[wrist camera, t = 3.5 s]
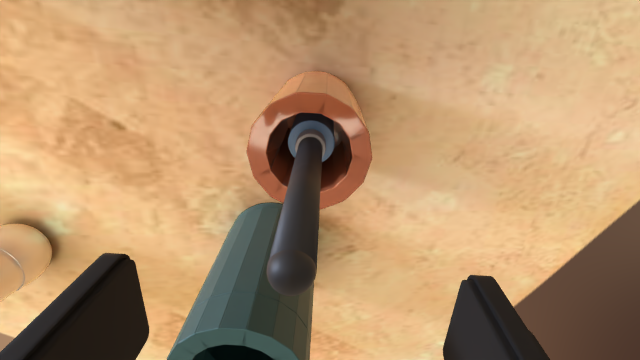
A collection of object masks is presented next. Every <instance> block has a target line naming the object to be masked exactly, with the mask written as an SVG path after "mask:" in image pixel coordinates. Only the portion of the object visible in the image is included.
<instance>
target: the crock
mask: <svg viewBox="0 0 640 360" xmlns="http://www.w3.org/2000/svg"><path fill="white" fill-rule="evenodd" d="M299 113H316V114H322V115H324V116H326V117H328V118H329V119H331V120H333V122H334V141H335V144H334V149H333V152H332V154H331V155H330V157H329V158H328V159H327V160H325V161H324V162H322V170H321V190H320V209H323V208H326V207H329V206H332V205H334V204H337V203H340V202H343V201H344V200H346V199H347V198H348V197H349V196H350V195H351V194H352V193H353V192H354V191H355V190H356V189H357V188H358V187H359V186H360V185H361V184H362V183H363V182H364V179H365V177H366V174H367V171H368V169H369V166H370V163H371V160H372V152H371V144H370V136H369V131H368V129H367V126H366V123H365V121H364V118H363V116H362V113H361V111H360V108H359V106H358V103H357V101H356V98H355V97H354V95H353V94H352V92H351V90H350V89H349V88H348V86H347V85H346V83H345V82H343V81H342V80H340V79H339V78H337V77H336V76H334V75H332V74H329V73H326V72H320V71H310V72H305V73H301V74H299V75H297V76H295V77H293V78H291V79H289V80H288V81H287V82H286V83H285V85H284V86H283V87H282V88H281V90H280V91H279V92H278V93H277V95H276V96H275V97H274V98H273V100H272V101H271V102H270V103H269V104H268V106H267V107H266V108H265V109H264V111H263V112H262V113H261V114H260V116H259V117H258V118H257V119H256V121H255V122H254V123H253V125H252V127H251V132H250V137H249V142H248V147H247V155H248V159H249V162H250V166H251V170H252V173H253V176H254V178H255V179H256V180H257V182H258V183H259V184H260V185H261V186H262V187H263V188H264V190H265V191H266V192H267V193H268V194H269V195H270V196H271V197H272V198H274V199H276V200H278V201H280V202H283V203H284V199H285V195H286V191H287V187H288V184H289V180H290V176H291V172H292V168H293V164H294V161H295V158H294V157H293V155H292V154H291V152H290V150H289V147H288V137H289V134H290V131H291V128H292V126H293V123H294V120H295V118H296V115H297V114H299Z"/></svg>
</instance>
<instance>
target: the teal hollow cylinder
mask: <svg viewBox="0 0 640 360" xmlns="http://www.w3.org/2000/svg"><path fill="white" fill-rule="evenodd" d="M282 207H283V204H279V203H262V204H258V205H255V206H252V207H250V208H248V209H246V210H245V211H244V212H242V213H241V214H240V215H239V216H238V218H237V219H236V220H235V222H234V224H233V226H232V228H231V229H230V231H229V233H228V235H227V237H226V239H225V241H224V243H223V246H222V248H221V250H220V252H219V254H218V256H217V258H216V260H215V262H214V264H213V266H212V268H211V270H210V272H209V274H208V276H207V278H206V280H205V282H204V284H203V286H202V288H201V290H200V292H199V294H198V296H197V298H196V300H195V302H194V305H193V307H192V309H191V311H190V313H189V315H188V317H187V319H186V321H185V323H184V325H183V327H182V329H181V331H180V333H179V335H178V337H177V339H176V341H175V343H174V345H173V347H172V349H171V351H170V353H169V355H168V357H167V360H309V358H310V342H311V325H312V308H313V290H314V282H313V284H312V285H311V287H310V288H309V289H308V290H307V291H305V292H304V293H302V294H299V295H297V296H285V295H282V294H280V293H278V292H277V291H276V290H274V289H273V288H272V286H271V285H270V283H269V281H268V277H267V264H268V260H269V257H270V253H271V249H272V245H273V241H274V237H275V234H276V230H277V226H278V222H279V218H280V214H281V210H282Z"/></svg>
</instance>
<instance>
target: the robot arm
mask: <svg viewBox="0 0 640 360" xmlns="http://www.w3.org/2000/svg"><path fill="white" fill-rule="evenodd" d="M148 335H149V325H148V320H147V316H146V311H145V306H144V302H143V297H142V293H141V288H140V283H139V279H138V274H137V270H136V265H135V262H134V261H133V260H130V258H129V256H128V255H126V254H114V253H105V254H102V255H101V256H100V257H99V258H98V259H97V260H96V261H95V262H94V263H93V264H92V265H90V266H89V267H88V268H87V269H86V270H85V271H84V272H83V273H82V274H81V275H80V276H79V277H78V278H77V279H76V280H75V281H74V282H73V283H72V284H71V285H70V286H69V287H68V288H67V289H66V290H64V291H63V292H62V293H61V294H60V295H59V296H58V297H57V298H56V299H55V300H54V301H53V302H52V303H51V304H50V305H49V306H48V307H47V308H46V309H45V310H44V311H43V312H42V313H41V314H40V315H39V316H37V317H36V318H35V319H34V320H33V321H32V322H31V323H30V324H29V325H28V326H27V327H26V328H25V329H24V330H23V331H22V332H21V333H20V334H19V335H18V336H17V337H16V338H15V339H14V340H13V341H12V342H11V343H9V344H8V345H7V346H6V347H5V348H4V349H3V350H2V351H1V352H0V360H135V359H136V358H137V356H138V354H139V353H140V351H141V349H142V348H143V346H144V344H145V343H146V341H147V338H148ZM443 356H444V360H550V359H549V357H548V356H547V354H546V353H545V352H544V350H543V348H542V347H541V345H540V344H539V342H538V341H537V339H536V338H535V336H534V335H533V334H532V333H531V332H530V331H529V330H528V329H527V327H526V326H525V324H524V323H523V321H522V320H521V318H520V317H519V315H518V314H517V312H516V311H515V309H514V308H513V306H512V305H511V303H510V302H509V300H508V298H507V297H506V295H505V294H504V292H503V291H502V289H501V288H500V286H499V285H498V283H497V282H496V280H495V279H494V278H493V277H491V276H478V275H470V276H469V277H468V279H467V280H463V281H462V282H461V285H460V289H459V292H458V296H457V299H456V303H455V307H454V310H453V314H452V317H451V321H450V325H449V328H448V332H447V336H446V339H445V343H444V347H443Z"/></svg>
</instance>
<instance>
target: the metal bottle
mask: <svg viewBox="0 0 640 360" xmlns="http://www.w3.org/2000/svg"><path fill="white" fill-rule="evenodd" d="M51 257H52V247H51V244H50V242H49V241H48V239H47V238H46V237H45V235H44V234H42V233H41V232H40V231H39V230H37V229H35V228H33V227H31V226H28V225H25V224H6V225H2V226H0V302H1V301H3V300H4V299H5V298H7V297H8V296H9V295H11V294H12V293H14V292H15V291H17V290H19V289H21V288H23V287H24V286H26V285H28V284H29V283H30V282H32V281H33V280H35V279H36V278H38V277H39V276H40V275H41V274H42V273H43V271H44V270H45V269H46V268H47V267H48V265H49V264H50V261H51Z"/></svg>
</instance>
